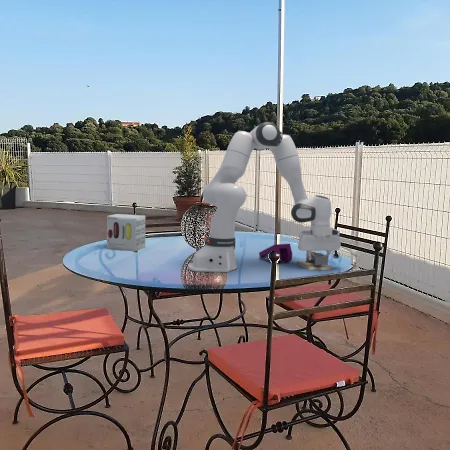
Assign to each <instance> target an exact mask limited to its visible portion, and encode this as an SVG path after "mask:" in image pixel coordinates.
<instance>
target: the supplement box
mask: <svg viewBox="0 0 450 450" xmlns="http://www.w3.org/2000/svg"><path fill="white" fill-rule="evenodd" d="M106 217H107V218H106V250H108V249H109V250H117V251H129V252H138V251H140V250H142V249H145V248H146V215H144V214H142V215H141V214H140V215H137V214H127V213H126V214H125V213H124V214H123V213H115V214H114V213H113V214H110V215H107V216H106Z"/></svg>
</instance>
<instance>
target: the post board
mask: <svg viewBox="0 0 450 450" xmlns="http://www.w3.org/2000/svg"><path fill="white" fill-rule="evenodd" d="M310 254H316V256H322V254H323V253H322V252H318V251H317V252H316V251H311V253H310ZM305 256H306V257H305V260H302V261H301V260H299V261H297V262H296V265H298V266H300V267H301V268H304V269H306V270H308V271H331V270H332V271H333V268H334V267H333V266H331V265H329V264H328V265H314V264H312V263H310V262H309V256H308V254H307V252H306V255H305Z"/></svg>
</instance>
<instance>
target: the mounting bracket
mask: <svg viewBox="0 0 450 450" xmlns="http://www.w3.org/2000/svg"><path fill="white" fill-rule="evenodd" d="M271 251H277V252H278V253H279V254H280V260H279V261H278V263H277V264H279V263H280V262H282V263H286V264H287V263H290V262H291V261H292V260H293V251H292V247H291V243H279V244H273V245H271V246H269V247H266V248H265V249H263V250H262V251H259V252H258V254H259V258H261V259H262V257H263V258H267V260H268V262H269V263H270V260H269V258H268V254H269V253H270V252H271Z"/></svg>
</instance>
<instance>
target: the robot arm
mask: <svg viewBox="0 0 450 450" xmlns="http://www.w3.org/2000/svg"><path fill="white" fill-rule="evenodd" d="M266 149H268V150H270V152H271V153H272V155H273V157H274V163H275V165H276V168H277V171H278V172H279V175H280V177H282V178H283V179H284V180H285V181H286V183H287V184H288V185H289V188H290V191H291V196H292V197H293V201H294V205H293V206H292V208H291V211H290V215H291V218H292V219H293V220H294V221H295V222H297V223H300V224H302V223H308V222H310V230H302V231H300V233H299V234H298V243H297V244H298V245H297V248H298V250H299V251H302V252H306V253H307V254H308V256H309V260H313V256H311V254H310V253H311V251H312V252H316V251H317V252H320V251H324V252H325V251H326V254H325V255H327V256H328V260H329V259H330V258H329V257H330V255H331V254H332V251H340V249H341V237H340V234H341V231H340V230H338V229H335V228H333V227H331V216H332V202H331V199H330V198H328V197H327V196H324V195H318V194H314V195H313V196H311V197H310V198H308V196H307V193H306V189H305V187H304V184H303V177H302V168H301V161H300V156H299V152H298V150H297V147H296V145H295V142H294V140H293V139H292V137H291V136H290V135H289V134H283V133H282V131H281V130H280V129H279V127H278V126H277V125H276V124H275V123H274V122H271V121H265V122H262V123H260V124H258V125H257V126H255V127H254V128H253V129H252V130H251V131H250V132H247V131H244V130H240V131H237V132H235V133H234V134H233V136H232V137H231V140H230V141H229V144H228V146H227V149H226V152H225V154H224V156H223V159H222V162H221V164H220V167H219V169H218V170H217V172H216V173H215V174H214V176H213V178H212V179H211V180H210V181H209V183H207V184H205V186H204V187H203V190H202V198H203V199H204V201H205V202H206V203H208V204H210V205H212V206H215V207H217V208H216V210H215V214H214V216H213V217H212V218H211V220H210V235H209V236H204V237H203V241H204V242H205V245H204V246H203V247H201V248H200V249H198V250H197V251H196V252H194V254H193V258H192V262H190V263H188V264H187V268H188V270H190V271H191V272H192V271H193V272H199V273H200V272H208V273H211V272H213V273H214V272H215V273H228V272H231V271H234V270H236V269H238V266H237V262H236V255H235V254H236V253H235V250H236V245H237V244H236V241H237V240H236V236H235V234H236V232H235V231H236V219H237V216H238V213H239V211H240V209H241V207H242V206H243V205H244V204H245V202H246V200H247V192H246V190H245V188H244V187H243V186H241V185H240V184H237V182H238V181H239V180H240V179H241V178H242V177H243V176H244V174H245V172H246V170H247V168H248V163H249V161H250V158H251V154H252V152H253V151H265V150H266Z"/></svg>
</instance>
